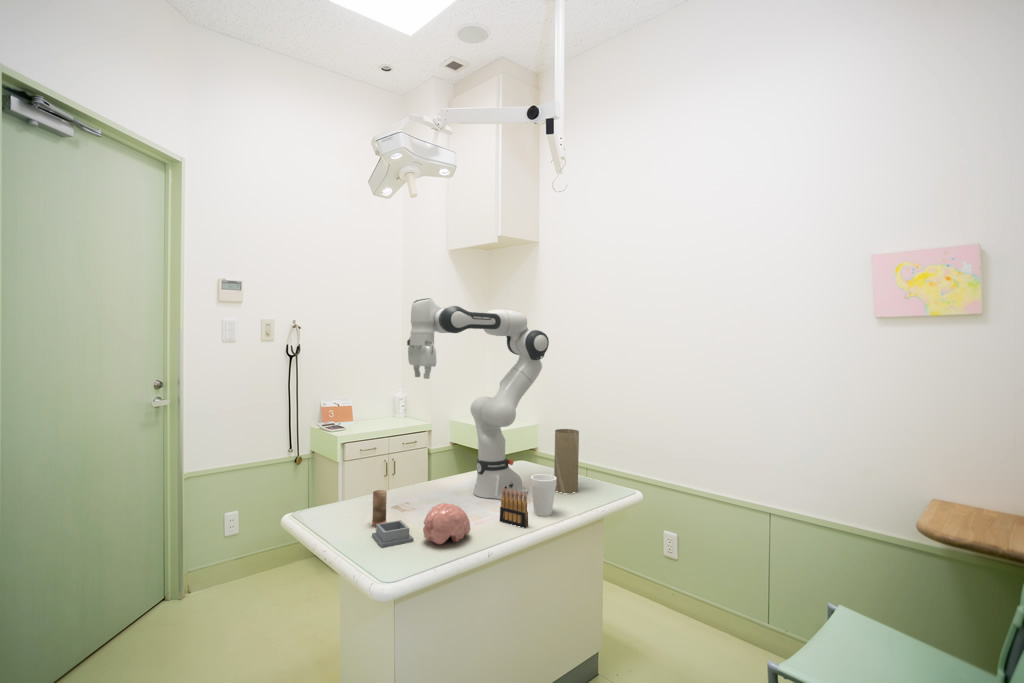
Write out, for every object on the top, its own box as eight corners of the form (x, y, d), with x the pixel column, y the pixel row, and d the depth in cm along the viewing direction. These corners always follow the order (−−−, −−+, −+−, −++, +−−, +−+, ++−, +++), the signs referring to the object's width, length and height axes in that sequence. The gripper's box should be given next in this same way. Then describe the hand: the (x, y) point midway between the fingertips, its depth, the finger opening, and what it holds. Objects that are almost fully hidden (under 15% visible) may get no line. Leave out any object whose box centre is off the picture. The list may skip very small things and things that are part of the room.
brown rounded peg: (383, 521, 172) (384, 489, 172) (388, 525, 168) (388, 492, 168) (370, 523, 169) (371, 491, 169) (374, 528, 165) (374, 494, 165)
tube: (574, 486, 217) (575, 428, 217) (580, 493, 207) (581, 433, 207) (551, 487, 216) (552, 428, 216) (556, 494, 206) (558, 433, 206)
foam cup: (524, 513, 182) (525, 477, 182) (541, 507, 189) (541, 472, 189) (545, 519, 176) (545, 482, 176) (561, 513, 183) (561, 477, 183)
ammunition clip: (499, 521, 173) (499, 486, 174) (502, 520, 175) (503, 485, 175) (525, 528, 167) (525, 492, 167) (528, 526, 169) (528, 491, 169)
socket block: (402, 530, 163) (402, 518, 163) (413, 541, 155) (413, 528, 155) (371, 536, 158) (372, 523, 158) (381, 547, 150) (381, 534, 150)
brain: (446, 543, 165) (458, 505, 168) (473, 554, 156) (484, 514, 160) (409, 535, 154) (423, 495, 158) (436, 546, 145) (449, 504, 149)
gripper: (440, 341, 182) (440, 379, 182) (420, 341, 200) (420, 376, 200) (424, 341, 179) (424, 379, 179) (405, 341, 197) (404, 376, 196)
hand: (421, 377), depth 189 cm, fingers open, 8 cm apart
